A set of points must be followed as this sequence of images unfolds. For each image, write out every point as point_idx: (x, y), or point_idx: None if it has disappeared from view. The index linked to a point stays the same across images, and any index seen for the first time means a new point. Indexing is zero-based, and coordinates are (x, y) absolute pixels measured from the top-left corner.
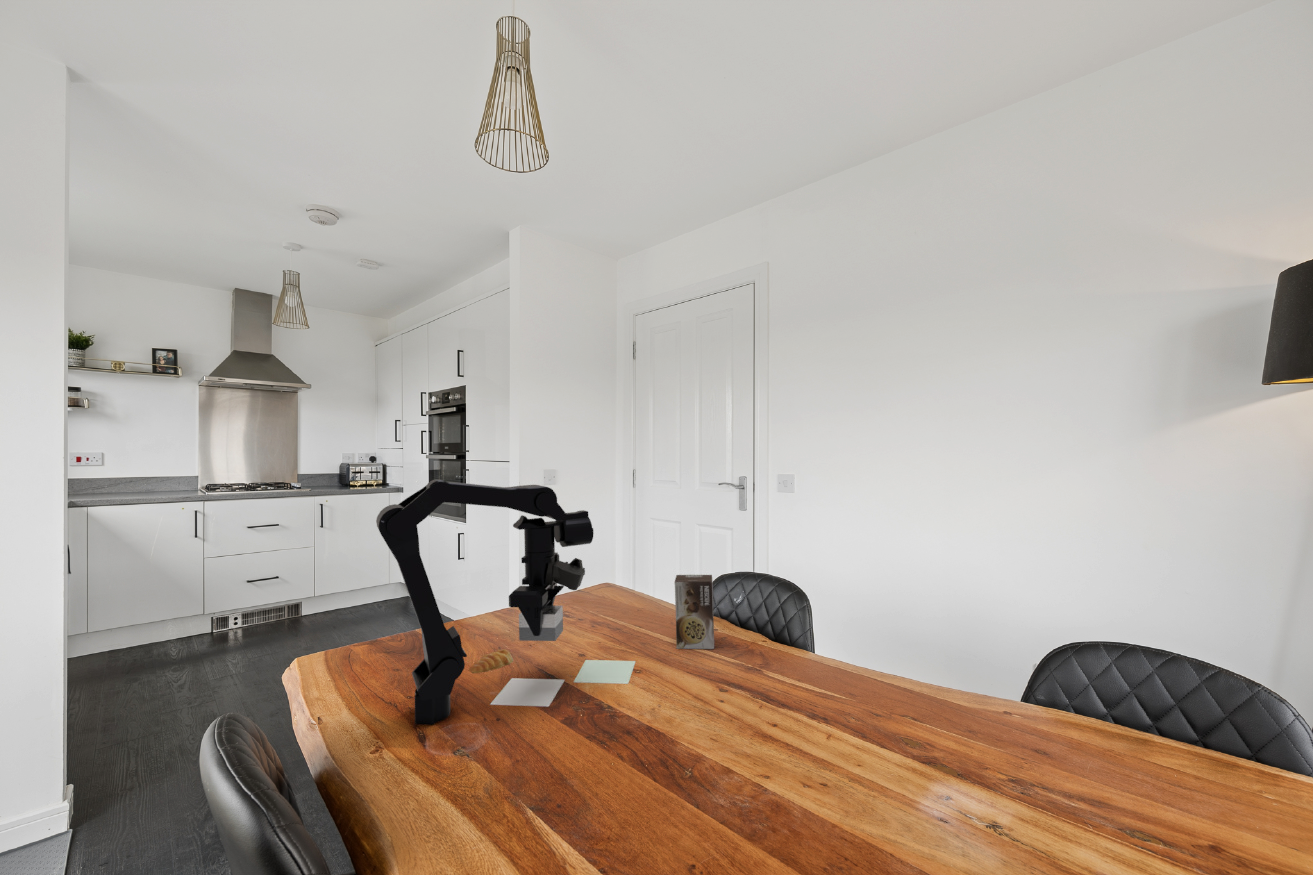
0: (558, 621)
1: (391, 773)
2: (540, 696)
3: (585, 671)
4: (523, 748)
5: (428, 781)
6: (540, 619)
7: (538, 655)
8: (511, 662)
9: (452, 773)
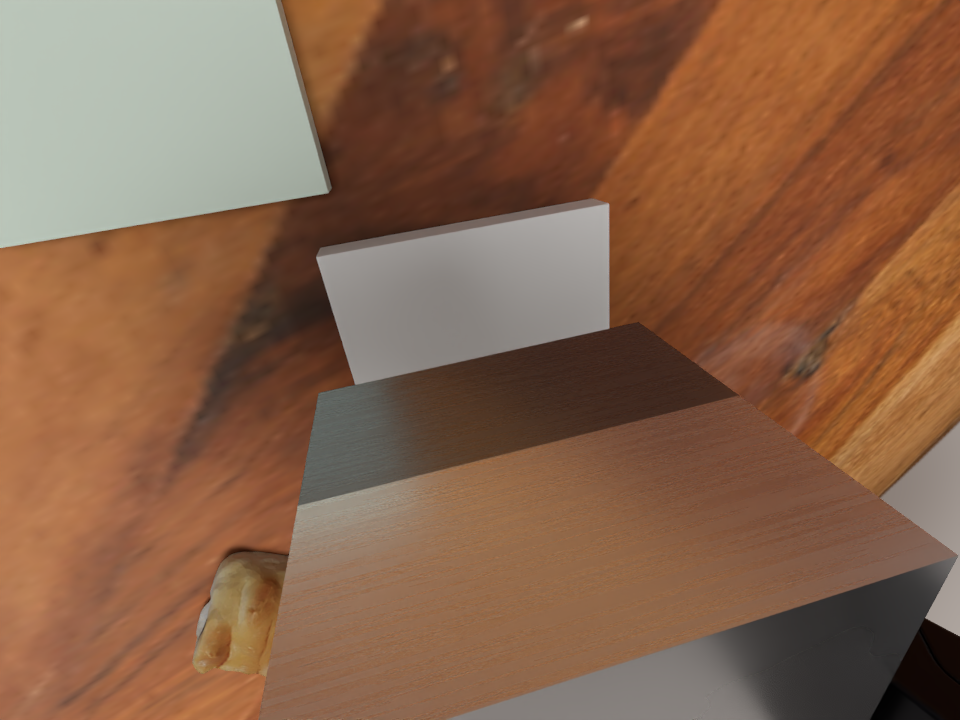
0: (568, 460)
1: (869, 446)
2: (522, 288)
3: (149, 177)
4: (820, 178)
5: (920, 352)
6: (929, 623)
7: (34, 542)
8: (238, 575)
9: (903, 318)
